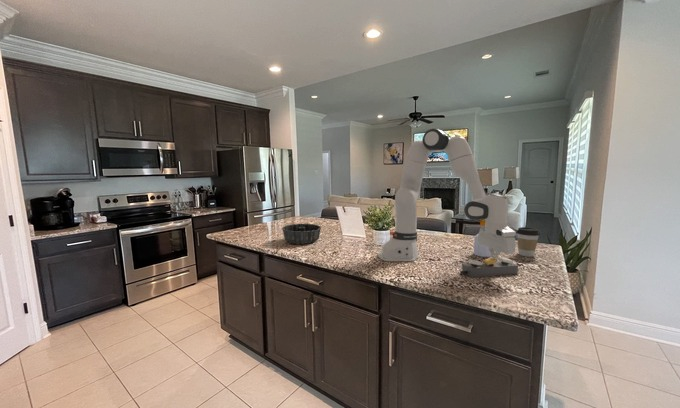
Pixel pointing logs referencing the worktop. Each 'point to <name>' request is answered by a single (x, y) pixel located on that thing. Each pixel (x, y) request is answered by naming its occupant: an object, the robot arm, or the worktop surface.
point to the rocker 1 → (475, 262)
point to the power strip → (489, 269)
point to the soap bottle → (481, 249)
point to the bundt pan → (301, 233)
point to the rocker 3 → (505, 260)
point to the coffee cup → (527, 241)
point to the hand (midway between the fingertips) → (494, 258)
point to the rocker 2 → (489, 261)
